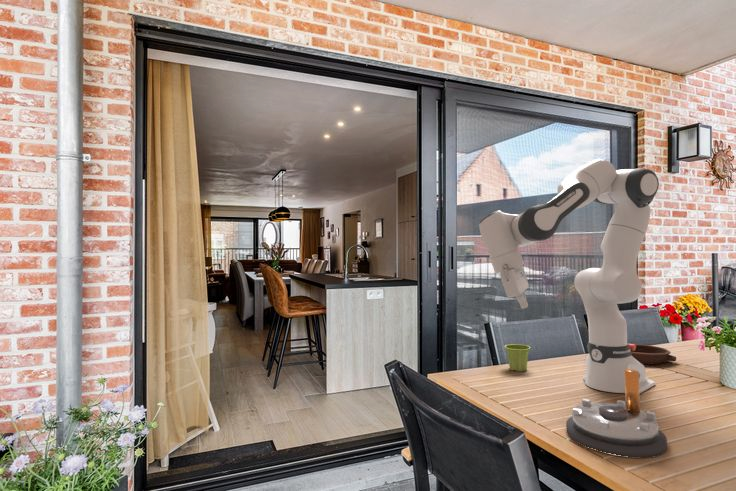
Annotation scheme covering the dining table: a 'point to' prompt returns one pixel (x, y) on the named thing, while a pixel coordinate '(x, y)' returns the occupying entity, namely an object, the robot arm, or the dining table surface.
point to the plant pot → (517, 356)
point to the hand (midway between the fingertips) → (525, 307)
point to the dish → (651, 354)
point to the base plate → (618, 449)
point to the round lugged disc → (618, 417)
